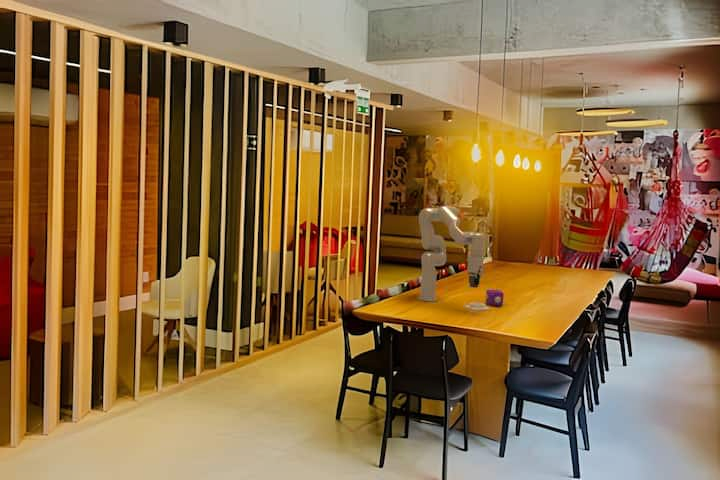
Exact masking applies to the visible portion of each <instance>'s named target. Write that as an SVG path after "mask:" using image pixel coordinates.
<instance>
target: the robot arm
mask: <svg viewBox="0 0 720 480" xmlns="http://www.w3.org/2000/svg"><path fill="white" fill-rule="evenodd" d="M459 213H460V212H459V210H458V208H457V206H454V205H441V206H439V207H426V208H423V209H421V210H420V211H419V214H418V224H419V228H420V235H421V245H422V248H423V249H424V250H433V251H426V252H424V253H423V254H422V255H421V259H420V260H421V284H420V291H419V293H418V295H419V296H418V297H417V300H419V301H422V302H437V301H438V298H437V297H436V289H437V288H436V287H437V274H438V273H437V269H436V267H442V266H444V265H445V264H446V263H447V249H446V241H445V239H444V237H443V236H442V235H439V234H435V229H434V226H433V224H432V223H431V222H443V223H444V224H445V225H446V226H447V227H448V231H449V232H448V233H449V235H450V237H451V239H453V241H455V243H457V244H459V245H470V248H469V256H468V258H467V259H468V260H467V267H466V271H467V273H468V284H470V274H471V273H475V281H474V285H478V286H480V280H481V277H482V275H483V274H484V271H483V266H484V262H483V261H484V260H483V259H484V258H483V256H484V241H485V235H484V234H483V233H479V232H477V233H476V232H474V231H461V229H460V228H459V226H460V224H461V219H460V218H459ZM477 274H478V275H477Z"/></svg>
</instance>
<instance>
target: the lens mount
mask: <svg viewBox="0 0 720 480" xmlns="http://www.w3.org/2000/svg"><path fill="white" fill-rule="evenodd" d="M463 308H464V309H465V308H466V309H468V310H471V311H474V312H483V311H491V310H492V308H490V307H487V306H486V304H485V303H483V302H475V301H474V302H469V305H467V304H465V305H463Z"/></svg>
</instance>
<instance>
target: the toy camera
mask: <svg viewBox="0 0 720 480" xmlns="http://www.w3.org/2000/svg"><path fill="white" fill-rule="evenodd" d="M485 303H486V304H487V306H490V307H491V306H493V307H502V306H503V305H504V292H503V291H502V290H500V289H499V288H496V289H486V291H485Z"/></svg>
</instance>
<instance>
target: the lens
mask: <svg viewBox="0 0 720 480" xmlns="http://www.w3.org/2000/svg"><path fill="white" fill-rule="evenodd" d="M477 275H478V274H477ZM469 277H470V283H469V287H470V288H475V289H476V288H479V285H474V281H475V273H471V274H470V276H469Z"/></svg>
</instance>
